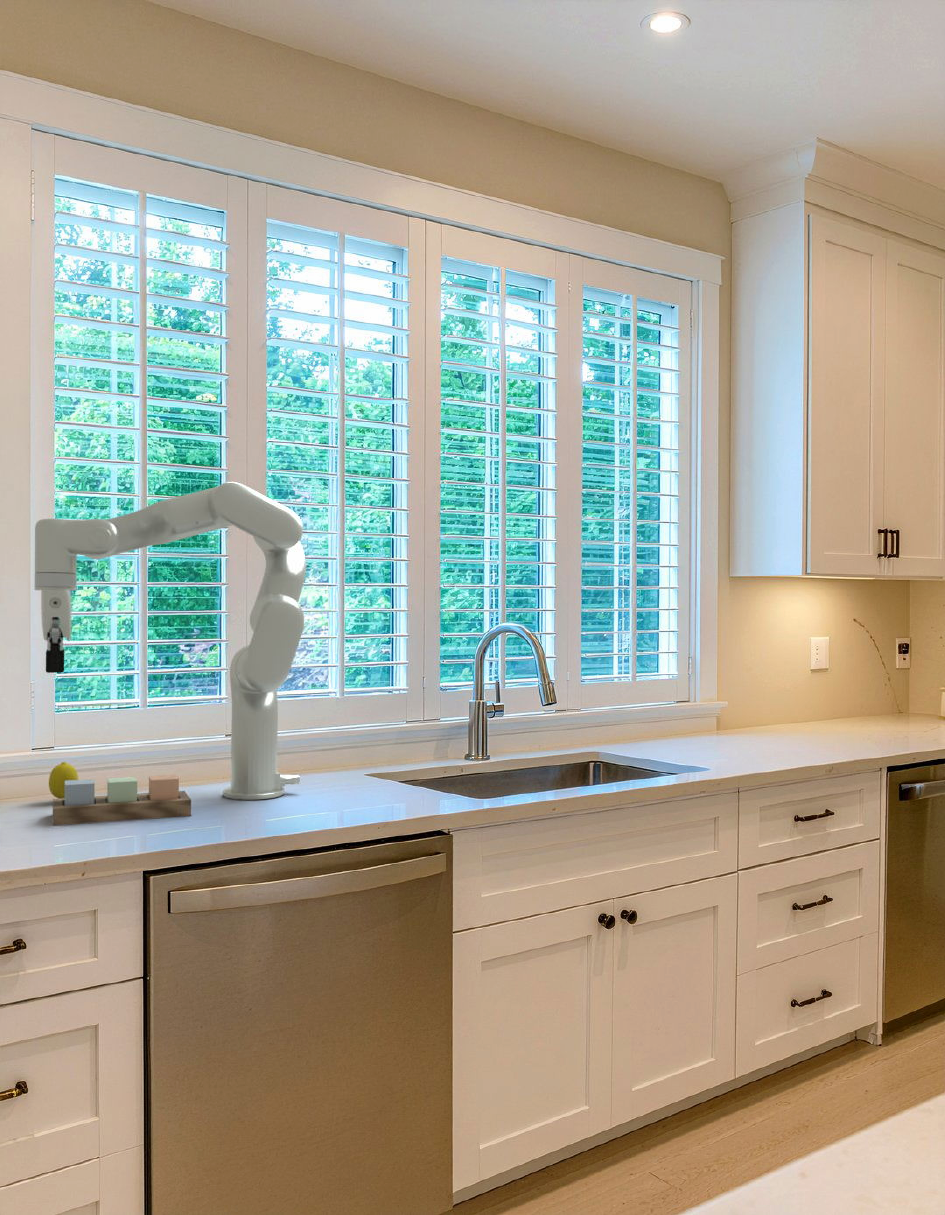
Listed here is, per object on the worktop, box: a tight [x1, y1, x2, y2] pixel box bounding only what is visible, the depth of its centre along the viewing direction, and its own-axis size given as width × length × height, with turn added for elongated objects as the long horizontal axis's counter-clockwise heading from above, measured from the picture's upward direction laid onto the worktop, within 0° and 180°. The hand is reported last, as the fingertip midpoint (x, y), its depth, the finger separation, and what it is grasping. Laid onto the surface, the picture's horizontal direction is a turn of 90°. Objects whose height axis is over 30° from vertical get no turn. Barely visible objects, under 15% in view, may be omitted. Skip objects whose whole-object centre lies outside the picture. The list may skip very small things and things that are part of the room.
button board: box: [52, 790, 192, 826], centre depth 186 cm, size 24×10×3 cm, turn 113°
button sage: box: [106, 776, 138, 803], centre depth 186 cm, size 5×5×5 cm
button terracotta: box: [148, 774, 180, 800], centre depth 189 cm, size 5×5×5 cm
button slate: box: [65, 778, 95, 806], centre depth 183 cm, size 5×5×5 cm
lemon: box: [48, 761, 79, 799], centre depth 198 cm, size 6×6×8 cm
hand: (55, 671), depth 191 cm, fingers open, 9 cm apart
